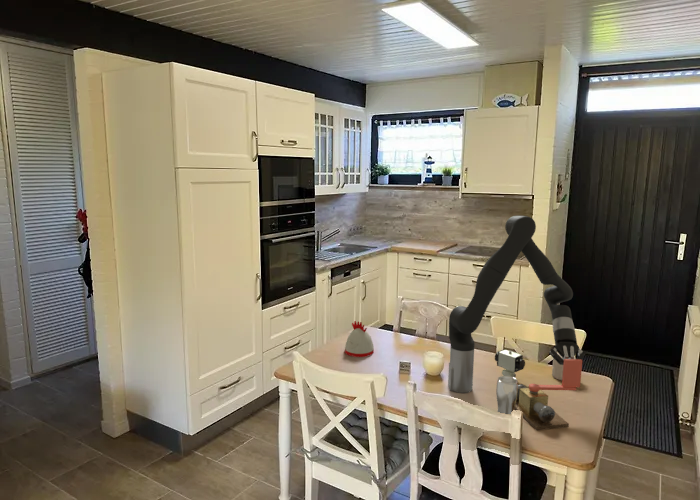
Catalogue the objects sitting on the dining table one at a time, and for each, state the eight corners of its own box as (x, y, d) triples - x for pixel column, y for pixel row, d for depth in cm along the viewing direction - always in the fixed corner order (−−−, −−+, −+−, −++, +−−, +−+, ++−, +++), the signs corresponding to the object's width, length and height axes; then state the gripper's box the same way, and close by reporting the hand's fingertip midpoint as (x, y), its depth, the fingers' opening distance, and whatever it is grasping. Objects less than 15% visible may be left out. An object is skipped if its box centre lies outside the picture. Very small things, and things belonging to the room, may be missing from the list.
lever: (530, 391, 171) (532, 361, 169) (527, 387, 174) (529, 357, 173) (581, 392, 170) (583, 361, 169) (576, 387, 174) (579, 358, 172)
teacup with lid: (569, 383, 198) (571, 356, 196) (547, 376, 205) (549, 350, 203) (580, 375, 207) (583, 349, 205) (559, 369, 213) (561, 343, 211)
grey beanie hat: (355, 344, 242) (356, 315, 240) (379, 350, 234) (379, 320, 232) (339, 352, 231) (339, 322, 228) (363, 359, 223) (363, 328, 220)
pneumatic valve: (518, 384, 197) (519, 356, 196) (493, 375, 206) (494, 348, 204) (525, 380, 201) (527, 353, 199) (500, 371, 210) (502, 345, 208)
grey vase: (491, 415, 172) (494, 375, 170) (510, 414, 173) (513, 375, 170) (499, 425, 165) (501, 384, 163) (518, 424, 166) (521, 383, 163)
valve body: (568, 426, 165) (570, 403, 163) (536, 430, 162) (538, 406, 161) (533, 397, 186) (534, 376, 185) (504, 399, 184) (505, 378, 182)
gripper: (548, 326, 181) (554, 370, 171) (585, 328, 179) (594, 373, 169) (543, 335, 187) (549, 378, 177) (579, 336, 185) (587, 380, 175)
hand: (571, 375), depth 173 cm, fingers closed
